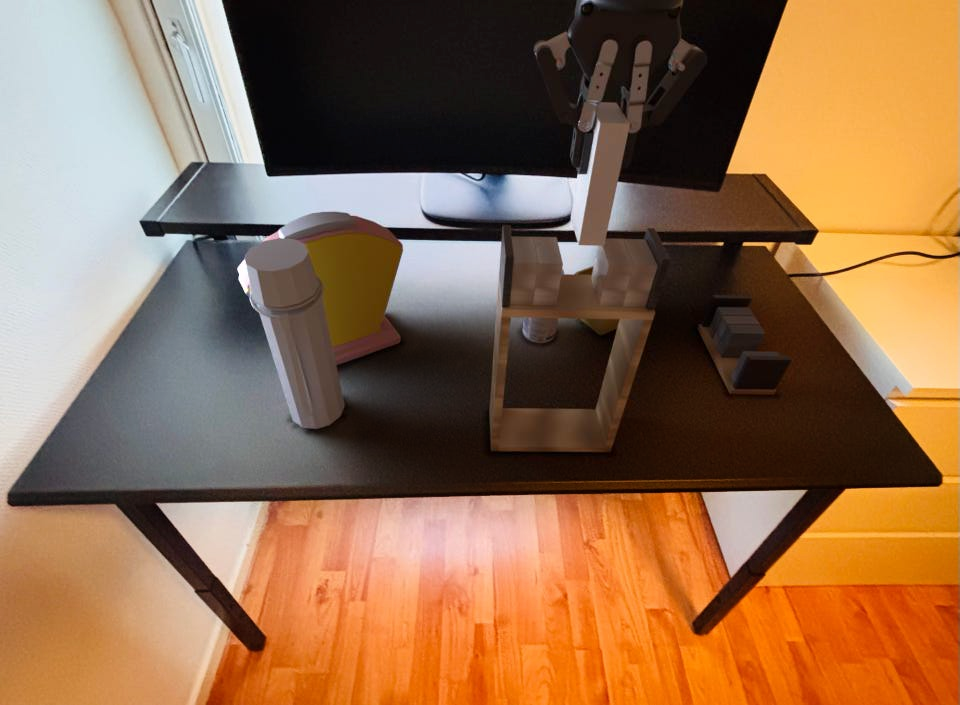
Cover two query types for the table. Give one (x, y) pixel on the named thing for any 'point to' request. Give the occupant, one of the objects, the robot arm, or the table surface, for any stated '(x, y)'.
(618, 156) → the white book
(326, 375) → the water bottle
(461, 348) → the table surface
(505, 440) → the birch stand
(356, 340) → the yellow napkin holder
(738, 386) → the grey rack
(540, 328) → the energy drink
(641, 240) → the wooden book holder
